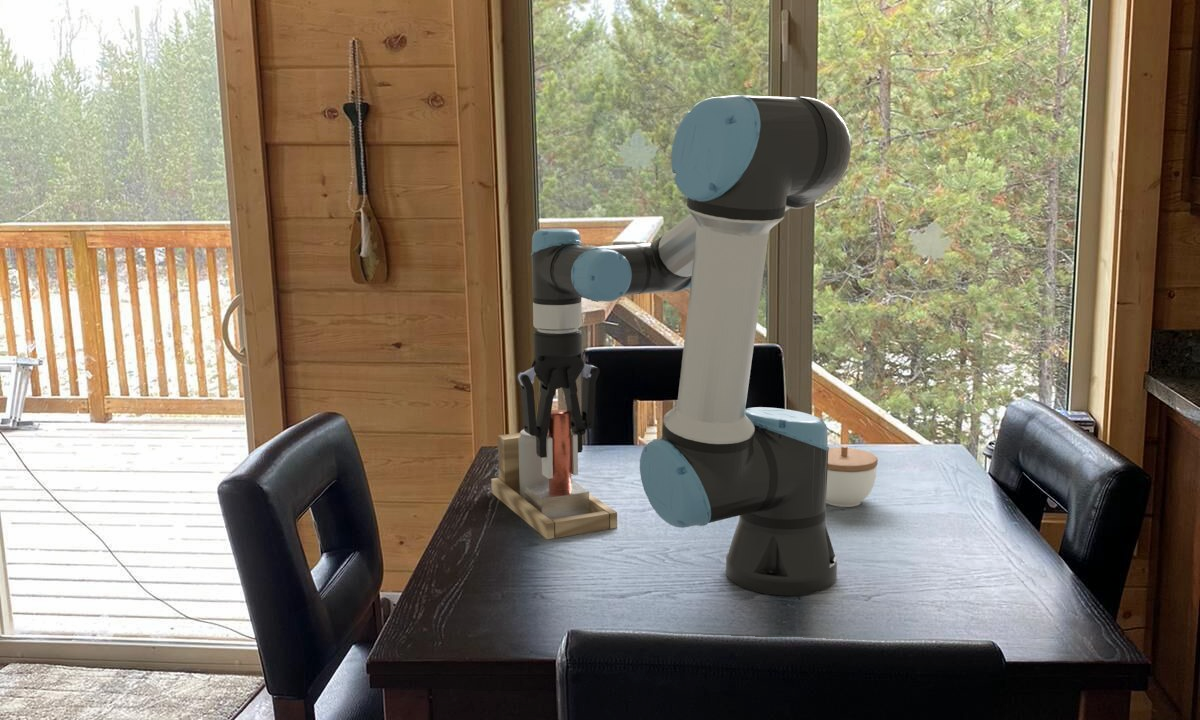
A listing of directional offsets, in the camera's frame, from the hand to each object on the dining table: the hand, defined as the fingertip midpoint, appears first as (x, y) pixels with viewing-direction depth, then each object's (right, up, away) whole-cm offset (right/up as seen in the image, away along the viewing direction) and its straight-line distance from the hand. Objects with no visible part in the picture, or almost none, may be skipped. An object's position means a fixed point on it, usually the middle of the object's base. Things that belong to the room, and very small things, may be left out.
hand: (560, 474), depth 177 cm
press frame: (-2, -6, +5) cm, 8 cm away
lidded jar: (+47, -6, +8) cm, 48 cm away
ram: (-1, -7, +3) cm, 7 cm away
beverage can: (-4, -6, +10) cm, 12 cm away
